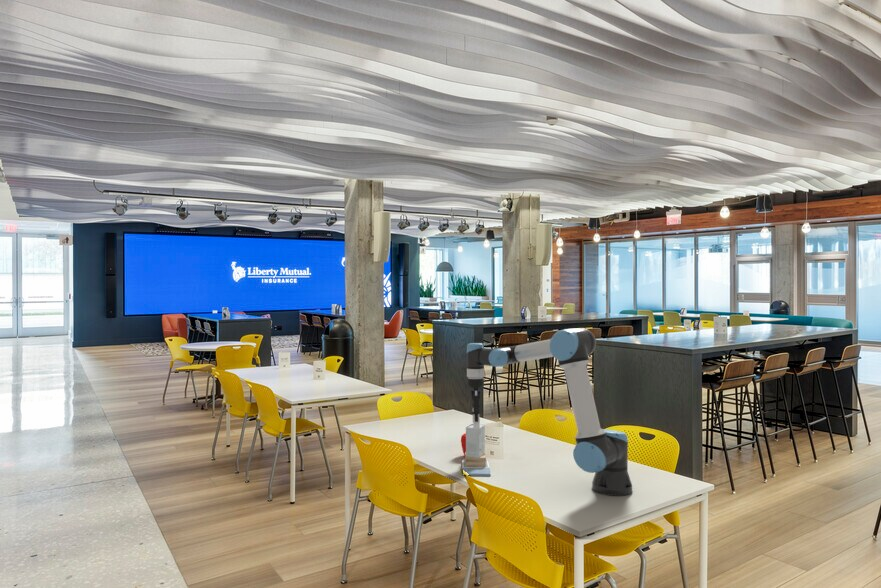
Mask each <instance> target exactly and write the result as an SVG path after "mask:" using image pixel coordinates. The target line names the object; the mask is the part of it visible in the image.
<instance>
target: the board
mask: <svg viewBox="0 0 881 588" xmlns="http://www.w3.org/2000/svg"><path fill="white" fill-rule="evenodd" d="M462 469H463V470H464V471H465V472H467V473H468V474H469V475H471V476H470V477H491V468H490V463H489V460H488V459H486V467H465V459H461V470H462Z"/></svg>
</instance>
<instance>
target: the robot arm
mask: <svg viewBox="0 0 881 588" xmlns="http://www.w3.org/2000/svg"><path fill="white" fill-rule="evenodd" d="M596 347H597V338H596V337H595V335H594V334H593V332H592V331H591V330H589V329H587V328H583V327H578V328H564V329H561V330H558V331H556V332H555V333H553V335H552V336H551V338H549V339H544V340H539V341H538V340H537V341H534V342H527V343H522V344H518V345H512V346H506V347H497V348H485V347H484V343H482V342H471V343H467V345H466V352H465V353H466V377H467V378H466V386H467V387H468V388H472V389H471V390H470V395H471V401H472V403H471V404H472V411H471V415H472V424H473V429H480V424H481V423H480V421H481V420H480V419H481V418H480V414H481V411H480V407H481V406H480V399H481V397H480V396H481V390H479V388H482V387H484V386H485V378H484V374H485V372H486V370H485V369H484V367H485V366H489V367H495V368H498V367H505V365H510V364H518V363H521V362H522V363H523V362H528V361H534V360H535V361H536V360H541V359H548V358H554V359H556V360H557V364H558V366H559V367H560V368H561V369H563V370H564V375H565V379H566V385H567V389H568V393H569V397H570V401H571V402H570V403H571V407H572V410H573V414H574V416H573V417H574V420H575V421H574V422H575V425H576V429H577V430H576V431H577V433H576V435H575V436H574V439H575V443H576V445H575V446H574V449H573V451H572V452H573V455H572V456H573V459H574V462H575V464H576V466H578V467H579V469H581V470H582V471H584V472H586V473H591V474H593V473H594V476H593V478H592V481H591V483H592V484H591V487H592V489H593V491H595V492H597V493H599V494H602V495H607V496H627V495H631V494H632V493H633V484H632V483H633V482H632V481H631V477H630V474H629V471H628V467H629V466H628V458H629V457H628V456H629V455H628V453H629V452H628V450H629V448H628V447H629V441H628V435H627V433H625V432H623V431H619V430H612V429H604V428H602V427H601V423H600V419H599V414H598V410H597V407H596V402H595V398H594V395H593V389H592V385H591V380H590V375H589V372H588V368H587V365H588V363H589V362H590V358H589V356H590V355H592V353H593V352H594V351H595V349H596Z"/></svg>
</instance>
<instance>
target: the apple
mask: <svg viewBox="0 0 881 588" xmlns="http://www.w3.org/2000/svg"><path fill="white" fill-rule="evenodd" d="M460 443H461V448H462V449H461V450H462V453H463V455H464V456H465V452H466V432H465V433H463V434H462V435H461V437H460Z"/></svg>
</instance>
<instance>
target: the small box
mask: <svg viewBox="0 0 881 588" xmlns="http://www.w3.org/2000/svg"><path fill="white" fill-rule="evenodd" d="M485 426H486V425H485V424H481V423H480V429H473V423H471V424H469V425H468V426H466V427H465V433H466V457H475V458H479V457H481V456H482V455H483V454H484V453H485V454H486V449H485V445H486V444H485V443H486V442H485V441H486V438H485V437H486V431H485V430H486V429H485V428H486V427H485Z"/></svg>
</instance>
